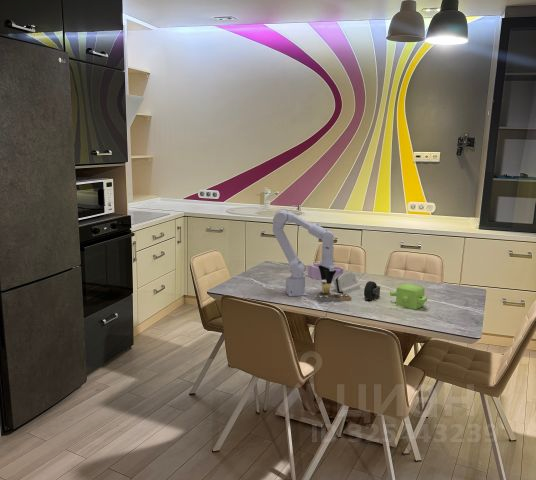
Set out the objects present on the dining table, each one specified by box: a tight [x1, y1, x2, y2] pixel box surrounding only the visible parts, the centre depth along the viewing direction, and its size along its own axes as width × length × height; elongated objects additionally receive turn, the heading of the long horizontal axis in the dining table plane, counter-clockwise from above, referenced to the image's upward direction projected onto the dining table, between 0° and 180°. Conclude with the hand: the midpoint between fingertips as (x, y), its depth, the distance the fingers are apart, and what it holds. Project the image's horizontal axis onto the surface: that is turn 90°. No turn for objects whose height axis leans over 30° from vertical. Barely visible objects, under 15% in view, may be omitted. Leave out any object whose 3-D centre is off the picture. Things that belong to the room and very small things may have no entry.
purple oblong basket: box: [307, 262, 344, 282], centre depth 284 cm, size 20×12×7 cm, turn 55°
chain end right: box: [328, 293, 352, 302], centre depth 246 cm, size 10×6×2 cm, turn 104°
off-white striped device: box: [334, 272, 361, 294], centre depth 262 cm, size 17×5×10 cm, turn 138°
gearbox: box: [389, 283, 428, 310], centre depth 238 cm, size 18×10×10 cm, turn 49°
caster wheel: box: [363, 280, 381, 301], centre depth 249 cm, size 6×10×15 cm
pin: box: [320, 281, 332, 295], centre depth 250 cm, size 4×4×7 cm
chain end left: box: [316, 294, 342, 303], centre depth 244 cm, size 10×6×2 cm, turn 104°
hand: (326, 281), depth 249 cm, fingers open, 7 cm apart
